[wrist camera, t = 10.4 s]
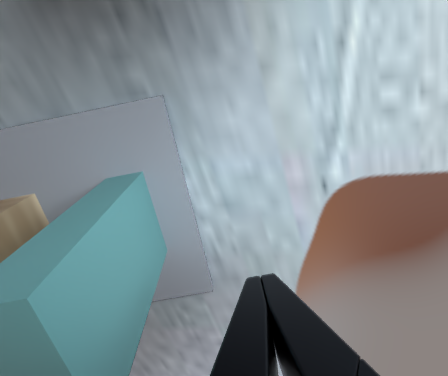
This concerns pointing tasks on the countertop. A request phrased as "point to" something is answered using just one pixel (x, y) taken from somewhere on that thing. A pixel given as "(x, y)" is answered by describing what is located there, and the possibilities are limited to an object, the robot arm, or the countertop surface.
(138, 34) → the countertop surface
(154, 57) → the countertop surface
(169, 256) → the slate mat
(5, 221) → the maple tile
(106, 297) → the teal tile
